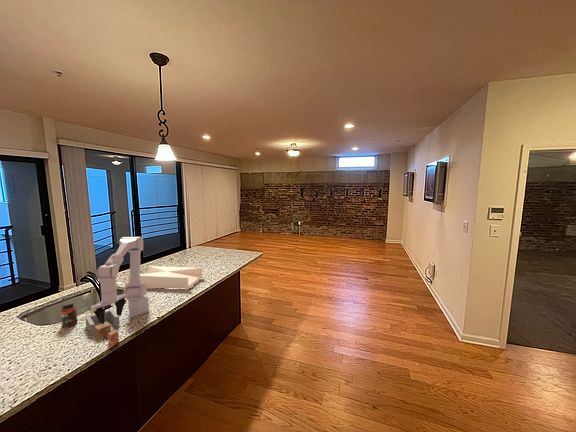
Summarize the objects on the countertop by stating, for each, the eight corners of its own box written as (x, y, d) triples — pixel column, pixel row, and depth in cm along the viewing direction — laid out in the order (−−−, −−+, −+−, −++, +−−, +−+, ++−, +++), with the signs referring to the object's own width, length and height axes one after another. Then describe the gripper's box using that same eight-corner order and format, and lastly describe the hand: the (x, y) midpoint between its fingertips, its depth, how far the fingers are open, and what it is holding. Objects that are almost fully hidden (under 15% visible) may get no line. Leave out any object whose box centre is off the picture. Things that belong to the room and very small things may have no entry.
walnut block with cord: (107, 330, 121) (106, 320, 121) (121, 341, 112) (120, 330, 112) (95, 335, 117) (94, 325, 117) (108, 346, 108) (108, 336, 108)
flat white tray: (202, 279, 193) (202, 268, 192) (188, 290, 171) (188, 277, 170) (149, 277, 197) (148, 265, 196) (128, 287, 175) (128, 275, 174)
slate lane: (113, 317, 133) (112, 308, 133) (119, 325, 126) (118, 316, 125) (86, 326, 125) (85, 316, 124) (91, 335, 117) (90, 325, 116)
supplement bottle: (76, 320, 130) (74, 299, 129) (78, 324, 127) (77, 303, 126) (61, 324, 126) (59, 303, 125) (63, 328, 122) (61, 307, 121)
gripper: (118, 284, 120) (120, 310, 121) (85, 295, 106) (87, 325, 108) (128, 286, 117) (130, 313, 119) (96, 298, 104) (98, 328, 105)
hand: (110, 319), depth 113 cm, fingers open, 7 cm apart
